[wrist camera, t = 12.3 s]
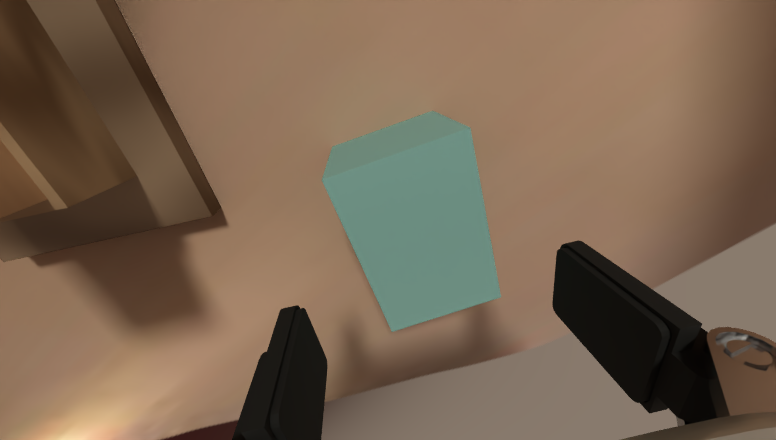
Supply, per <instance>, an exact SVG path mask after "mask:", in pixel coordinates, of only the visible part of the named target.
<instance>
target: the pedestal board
mask: <svg viewBox="0 0 776 440" xmlns="http://www.w3.org/2000/svg"><path fill="white" fill-rule="evenodd" d="M0 140H1V141H2V143H3V144H4V145H5V146H6V148H7V149H8V150H9V151H10V153H11V154H12V155H13V156H14V158H15V159H16V160H17V161H18V163H19V164H20V165H21V166H22V168H23V169H24V170H25V171H26V173H27V174H28V175H29V176H30V178H31V179H32V180H33V181H34V183H35V184H36V185H37V186H38V188H39V189H40V190H41V191H42V193H43V194H44V195H45V196H46V198H47V200H45V201H42V202H40V203H37V204H35V205H32V206H30V207H27V208H25V209H22V210H20V211H17V212H15V213H12V214H10V215H7V216H5V217H2V218H0V259H1V260H2V261H3V262H6V261H11V260H15V259H20V258H24V257H29V256H33V255H38V254H43V253H47V252H52V251H56V250H61V249H65V248H70V247H74V246H79V245H84V244H88V243H93V242H97V241H102V240H106V239H111V238H115V237H120V236H125V235H129V234H134V233H138V232H143V231H147V230H152V229H156V228H161V227H166V226H170V225H175V224H179V223H184V222H188V221H193V220H197V219H202V218H207V217H211V216H213V215H214V214H215V213H216V212H217V211H218V210H219V209H220V208H221V207H220V205H219V203H218V201H217V199H216V197H215V195H214V193H213V191H212V189H211V187H210V185H209V183H208V181H207V180H206V178H205V176H204V174H203V172H202V170H201V168H200V166H199V164H198V162H197V160H196V158H195V156H194V154H193V152H192V150H191V149H190V147H189V145H188V143H187V141H186V139H185V137H184V135H183V133H182V131H181V129H180V127H179V125H178V123H177V121H176V119H175V118H174V116H173V114H172V112H171V110H170V108H169V106H168V104H167V102H166V100H165V98H164V96H163V94H162V92H161V90H160V88H159V86H158V85H157V83H156V81H155V79H154V77H153V75H152V73H151V71H150V69H149V67H148V65H147V63H146V61H145V59H144V57H143V55H142V54H141V52H140V50H139V48H138V46H137V44H136V42H135V40H134V38H133V36H132V34H131V32H130V30H129V28H128V26H127V24H126V23H125V21H124V19H123V17H122V15H121V13H120V11H119V9H118V7H117V5H116V3H115V1H114V0H0Z"/></svg>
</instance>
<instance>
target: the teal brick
mask: <svg viewBox="0 0 776 440" xmlns="http://www.w3.org/2000/svg"><path fill="white" fill-rule="evenodd" d="M322 182H323V184H324V186H325V188H326V190H327V192H328V195H329V197H330V199H331V201H332V203H333V205H334V207H335V210H336V212H337V214H338V216H339V218H340V220H341V223H342V225H343V227H344V229H345V231H346V233H347V236H348V238H349V240H350V242H351V244H352V246H353V249H354V251H355V253H356V255H357V257H358V259H359V262H360V264H361V266H362V268H363V270H364V272H365V274H366V277H367V279H368V281H369V283H370V285H371V287H372V290H373V292H374V294H375V296H376V298H377V300H378V303H379V305H380V307H381V309H382V311H383V313H384V316H385V318H386V320H387V322H388V324H389V326H390V329H391V331H392V332H393V331H396V330H399V329H403V328H406V327H409V326H412V325H415V324H418V323H421V322H425V321H428V320H431V319H434V318H437V317H440V316H444V315H447V314H450V313H453V312H456V311H459V310H462V309H466V308H469V307H472V306H475V305H478V304H481V303H484V302H488V301H491V300H494V299H497V298H500V297H501V294H500V289H499V283H498V278H497V272H496V267H495V261H494V256H493V250H492V245H491V239H490V234H489V228H488V223H487V217H486V212H485V206H484V201H483V195H482V190H481V184H480V179H479V173H478V168H477V162H476V157H475V151H474V146H473V140H472V135H471V129H470V127H468V126H466V125H463V124H461V123H459V122H457V121H454V120H452V119H450V118H448V117H446V116H443V115H441V114H439V113H437V112H434V111H431V112H428V113H425V114H422V115H419V116H417V117H414V118H411V119H408V120H405V121H403V122H400V123H397V124H394V125H392V126H389V127H386V128H383V129H380V130H378V131H375V132H372V133H369V134H366V135H364V136H361V137H358V138H355V139H352V140H350V141H347V142H344V143H341V144H339V145H336V146H333V147H332V150H331V153H330V156H329V159H328V162H327V165H326V168H325V171H324V175H323V178H322Z"/></svg>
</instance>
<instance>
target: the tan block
mask: <svg viewBox="0 0 776 440" xmlns="http://www.w3.org/2000/svg"><path fill="white" fill-rule="evenodd" d="M45 200H47V198H46V196H45V195H44V194H43V193H42V191H41V190H40V189H39V188H38V186H37V185H36V184H35V183H34V181H33V180H32V179H31V178H30V176H29V175H28V174H27V173H26V171H25V170H24V169H23V168H22V166H21V165H20V164H19V163H18V161H17V160H16V159H15V158H14V156H13V155H12V154H11V153H10V151H9V150H8V149H7V148H6V146H5V145H4V144H3V143H2V141H1V140H0V218H2V217H5V216H7V215H10V214H12V213H15V212H17V211H20V210H22V209H25V208H27V207H30V206H32V205H35V204H37V203H40V202H42V201H45Z"/></svg>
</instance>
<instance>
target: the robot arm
mask: <svg viewBox="0 0 776 440" xmlns="http://www.w3.org/2000/svg"><path fill="white" fill-rule="evenodd" d="M553 309H554V311H555V313H556V314H557V316H558V317H559V318H560V319H561V320H562V321H563V322H564V324H565V325H566V326H567V327H568V328H569V329H570V330H571V331H572V333H573V334H574V335H575V336H576V337H577V338H578V339H579V341H580V342H581V343H582V344H583V345H584V346H585V347H586V348H587V350H588V351H589V352H590V353H591V354H592V355H593V356H594V357H595V359H596V360H597V361H598V362H599V363H600V364H601V365H602V366H603V368H604V369H605V370H606V371H607V372H608V373H609V374H610V376H611V377H612V378H613V379H614V380H615V381H616V382H617V383H618V385H619V386H620V387H621V388H622V389H623V390H624V391H625V393H626V394H627V395H628V396H629V397H630V398H631V399H632V400H633V401H635V402H637V403H640V404H641V405H642V406H643V407H644V408H645V409H646V410H647V411H648V412H649V413H653V412H657V411H662V410H666V409H667V408H669V409H670V410H671V411H672V412H673V413H674V414H675V415H676V418H677V423H678V427H673V428H669V429H664V430H659V431H655V432H651V433H647V434H643V435H638V436H634V437H630V438H626V439H622V440H776V343H775V342H773V341H772V340H770V339H768V338H766V337H763V336H761V335H758V334H756V333H754V332H750V331H747V330H743V329H739V328H731V327H718V328H715V329H712V330H710V331H709V333H708V332H706V331H705V330H704V329H702V328H701V325H702V323H700V322H699V321H697V320H696V319H694V318H693V317H691V316H690V315H688V314H687V313H686V312H684V311H683V310H681V309H680V308H678V307H677V306H675V305H674V304H673V303H671V302H670V301H668V300H667V299H665V298H664V297H662V296H661V295H659V294H658V293H656V292H655V291H654V290H652V289H651V288H649V287H648V286H646V285H645V284H643V283H642V282H640V281H639V280H638V279H636V278H635V277H633V276H632V275H630V274H629V273H627V272H626V271H624V270H623V269H622V268H620V267H619V266H617V265H616V264H614V263H613V262H611V261H610V260H608V259H607V258H605V257H604V256H603V255H601V254H600V253H598V252H597V251H595V250H594V249H592V248H591V247H589V246H588V245H587V244H585V243H584V242H582V241H575V242H570V243H566V244H563V245H562V246H561V247H560V249H559V250H558V251H557V256H556V268H555V280H554V292H553ZM326 378H327V359H326V356H325V354H324V351H323V349H322V347H321V345H320V342H319V340H318V338H317V335H316V333H315V331H314V328H313V326H312V324H311V321H310V319H309V317H308V314H307V312H306V310H305V309H304V308H302V309H300V307H299V306H297V305H296V306H292V307H288V308H283V309H281V310H280V313H279V316H278V319H277V322H276V325H275V328H274V331H273V334H272V337H271V341H270V344H269V347H268V350H267V352H264V353H263V354H262V355H261V357H260V359H259V362H258V365H257V368H256V370H255V373H254V376H253V379H252V382H251V385H250V388H249V391H248V394H247V397H246V400H245V403H244V406H243V409H242V412H241V415H240V418H239V421H238V424H237V427H236V430H235V432H234V436H233V438H232V440H321V434H322V422H323V411H324V401H325V389H326Z"/></svg>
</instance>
